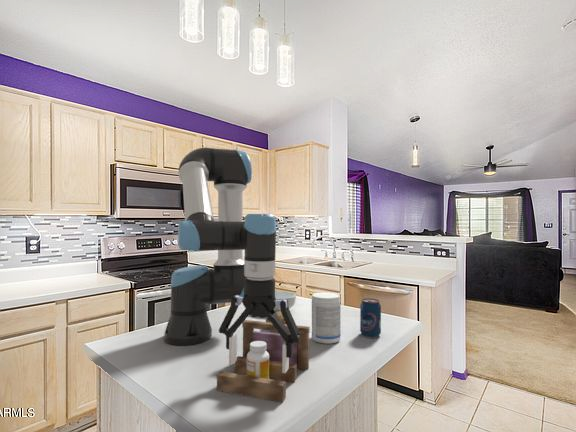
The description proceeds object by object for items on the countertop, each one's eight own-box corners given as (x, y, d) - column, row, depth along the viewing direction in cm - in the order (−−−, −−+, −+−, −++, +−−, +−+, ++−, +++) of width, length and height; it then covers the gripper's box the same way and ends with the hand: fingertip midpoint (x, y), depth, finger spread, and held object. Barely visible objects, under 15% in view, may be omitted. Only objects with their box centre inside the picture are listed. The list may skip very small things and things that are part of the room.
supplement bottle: (269, 379, 81) (269, 339, 81) (268, 390, 76) (269, 347, 76) (247, 379, 81) (248, 339, 81) (245, 390, 75) (245, 347, 76)
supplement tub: (346, 341, 107) (346, 296, 108) (324, 346, 102) (324, 299, 102) (327, 332, 115) (327, 290, 116) (305, 337, 110) (306, 293, 110)
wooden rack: (211, 389, 76) (211, 342, 76) (245, 356, 94) (245, 319, 94) (289, 403, 70) (290, 352, 70) (309, 366, 88) (310, 326, 89)
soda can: (357, 336, 112) (358, 301, 112) (363, 330, 118) (363, 297, 118) (378, 340, 109) (378, 303, 109) (382, 333, 115) (382, 299, 115)
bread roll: (263, 339, 118) (260, 322, 115) (270, 320, 127) (268, 303, 124) (290, 342, 115) (288, 325, 112) (295, 322, 124) (294, 305, 121)
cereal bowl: (279, 303, 155) (280, 288, 155) (303, 311, 142) (303, 295, 143) (249, 309, 144) (249, 293, 145) (272, 318, 132) (272, 300, 132)
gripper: (205, 276, 79) (204, 365, 78) (306, 283, 71) (305, 381, 71) (220, 272, 86) (219, 353, 85) (313, 278, 79) (312, 367, 78)
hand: (258, 366), depth 78 cm, fingers open, 13 cm apart
